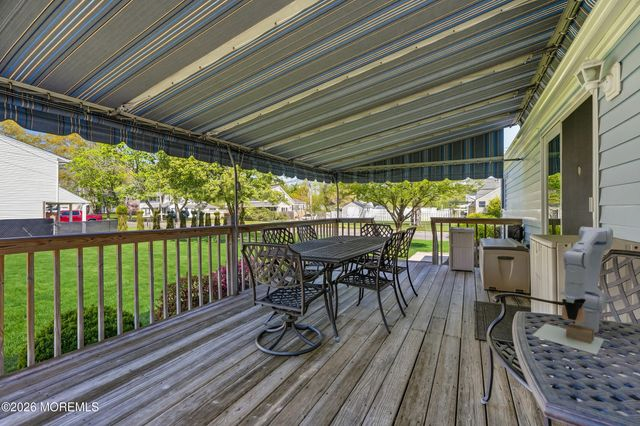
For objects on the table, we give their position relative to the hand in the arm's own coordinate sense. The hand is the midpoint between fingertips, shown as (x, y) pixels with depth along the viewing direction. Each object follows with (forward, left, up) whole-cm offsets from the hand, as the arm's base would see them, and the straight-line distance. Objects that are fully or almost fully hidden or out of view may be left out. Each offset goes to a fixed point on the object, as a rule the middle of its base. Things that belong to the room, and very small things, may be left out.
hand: (573, 318), depth 110 cm
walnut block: (-2, +2, -8) cm, 8 cm away
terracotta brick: (0, 0, -1) cm, 1 cm away
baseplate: (+1, -1, -8) cm, 8 cm away
